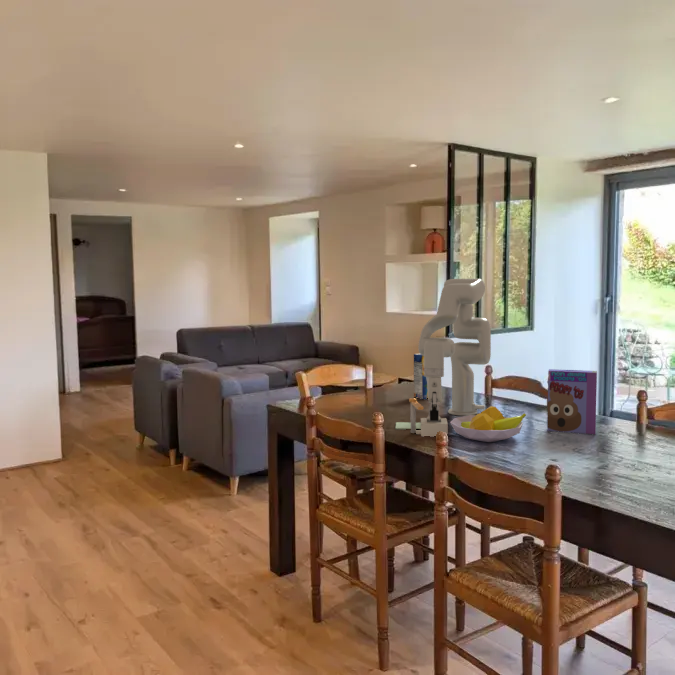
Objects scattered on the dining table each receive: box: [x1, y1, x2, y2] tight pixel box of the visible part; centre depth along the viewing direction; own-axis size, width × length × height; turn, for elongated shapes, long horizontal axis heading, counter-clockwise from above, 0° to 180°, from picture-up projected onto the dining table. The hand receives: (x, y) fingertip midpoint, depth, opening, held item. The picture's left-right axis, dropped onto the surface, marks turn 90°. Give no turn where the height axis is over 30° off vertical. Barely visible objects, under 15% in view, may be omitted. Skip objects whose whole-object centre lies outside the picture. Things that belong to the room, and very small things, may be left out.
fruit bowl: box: [449, 405, 527, 443], centre depth 244 cm, size 28×27×11 cm
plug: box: [426, 404, 441, 422], centre depth 252 cm, size 5×5×11 cm
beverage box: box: [413, 353, 428, 400], centre depth 326 cm, size 7×11×22 cm, turn 122°
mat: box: [395, 421, 421, 430], centre depth 265 cm, size 10×10×1 cm
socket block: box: [410, 403, 449, 438], centre depth 252 cm, size 14×10×12 cm
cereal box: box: [546, 368, 598, 436], centre depth 251 cm, size 17×5×24 cm, turn 68°
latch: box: [408, 397, 424, 411], centre depth 247 cm, size 14×3×2 cm, turn 6°
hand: (433, 418), depth 252 cm, fingers closed on plug, 5 cm apart
